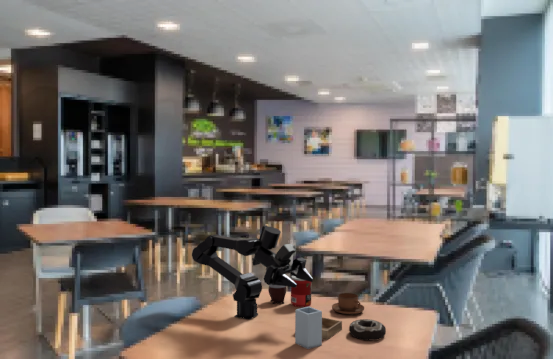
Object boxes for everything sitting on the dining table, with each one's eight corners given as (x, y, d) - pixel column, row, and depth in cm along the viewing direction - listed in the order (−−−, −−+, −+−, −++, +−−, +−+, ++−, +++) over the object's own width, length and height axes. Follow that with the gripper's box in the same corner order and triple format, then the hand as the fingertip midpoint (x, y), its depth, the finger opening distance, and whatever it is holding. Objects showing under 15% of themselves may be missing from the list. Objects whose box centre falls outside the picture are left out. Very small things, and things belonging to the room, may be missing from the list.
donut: (383, 344, 152) (383, 331, 152) (345, 339, 156) (345, 326, 156) (388, 332, 163) (388, 320, 163) (352, 327, 167) (352, 315, 167)
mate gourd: (280, 305, 190) (280, 267, 190) (263, 302, 194) (263, 264, 194) (290, 301, 196) (290, 263, 196) (273, 298, 201) (273, 261, 200)
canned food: (309, 308, 187) (310, 279, 187) (289, 306, 189) (289, 278, 189) (312, 302, 195) (312, 274, 194) (292, 301, 197) (292, 273, 196)
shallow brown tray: (296, 333, 160) (296, 324, 160) (312, 323, 170) (312, 315, 170) (327, 340, 154) (327, 331, 154) (341, 329, 164) (342, 321, 164)
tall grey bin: (295, 343, 152) (295, 309, 151) (308, 339, 155) (309, 306, 154) (308, 349, 147) (308, 314, 146) (321, 345, 150) (322, 311, 150)
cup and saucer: (369, 310, 186) (369, 294, 185) (356, 319, 176) (356, 301, 175) (340, 305, 192) (340, 289, 192) (326, 313, 182) (326, 296, 182)
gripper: (259, 242, 160) (294, 266, 151) (293, 235, 175) (328, 257, 166) (249, 272, 163) (284, 297, 154) (284, 263, 178) (317, 285, 169)
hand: (304, 283), depth 161 cm, fingers open, 9 cm apart
